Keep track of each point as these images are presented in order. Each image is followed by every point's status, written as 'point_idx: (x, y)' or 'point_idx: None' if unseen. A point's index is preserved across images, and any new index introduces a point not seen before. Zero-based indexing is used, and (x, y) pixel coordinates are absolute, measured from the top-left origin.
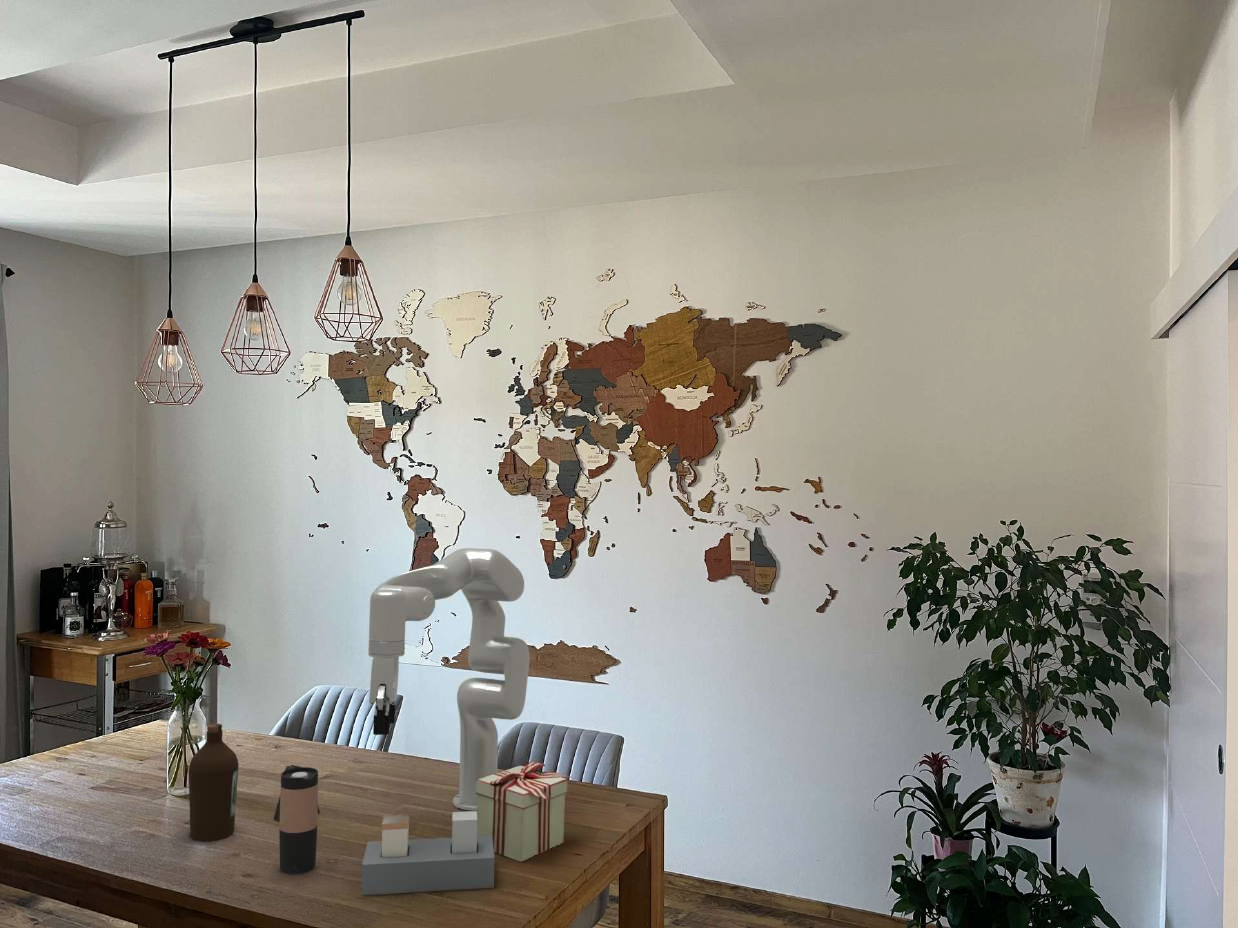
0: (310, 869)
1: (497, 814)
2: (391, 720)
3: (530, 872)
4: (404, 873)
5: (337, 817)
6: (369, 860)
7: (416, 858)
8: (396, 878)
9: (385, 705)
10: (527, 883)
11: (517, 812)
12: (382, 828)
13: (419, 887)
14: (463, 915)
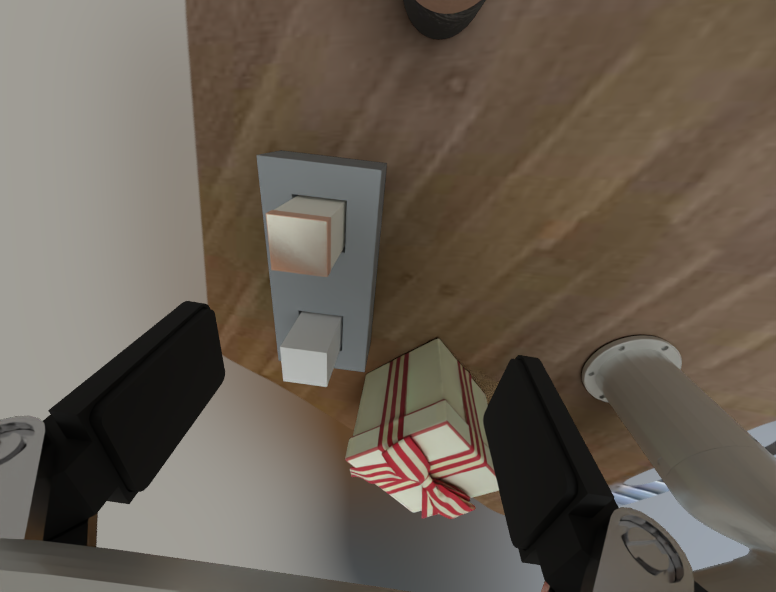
0: (415, 27)
1: (397, 398)
2: (489, 423)
3: (333, 376)
4: None
5: (743, 89)
6: (277, 171)
7: None
8: None
9: (558, 516)
10: None
11: (363, 425)
12: (270, 211)
13: None
14: (214, 290)
